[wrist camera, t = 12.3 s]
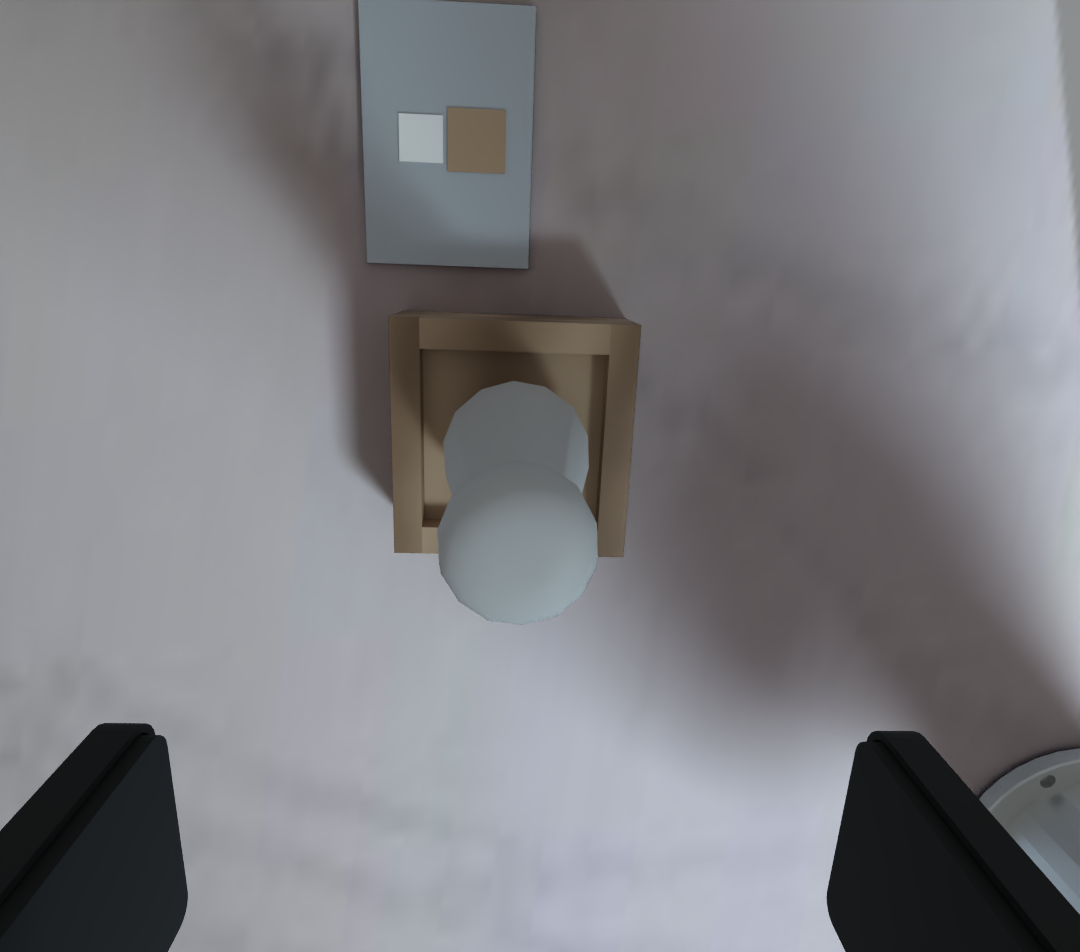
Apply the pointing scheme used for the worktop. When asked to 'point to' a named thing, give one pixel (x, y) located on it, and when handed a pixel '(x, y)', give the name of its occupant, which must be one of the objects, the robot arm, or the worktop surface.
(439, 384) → the wooden crate
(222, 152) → the worktop surface
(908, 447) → the worktop surface
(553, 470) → the salt shaker
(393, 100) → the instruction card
